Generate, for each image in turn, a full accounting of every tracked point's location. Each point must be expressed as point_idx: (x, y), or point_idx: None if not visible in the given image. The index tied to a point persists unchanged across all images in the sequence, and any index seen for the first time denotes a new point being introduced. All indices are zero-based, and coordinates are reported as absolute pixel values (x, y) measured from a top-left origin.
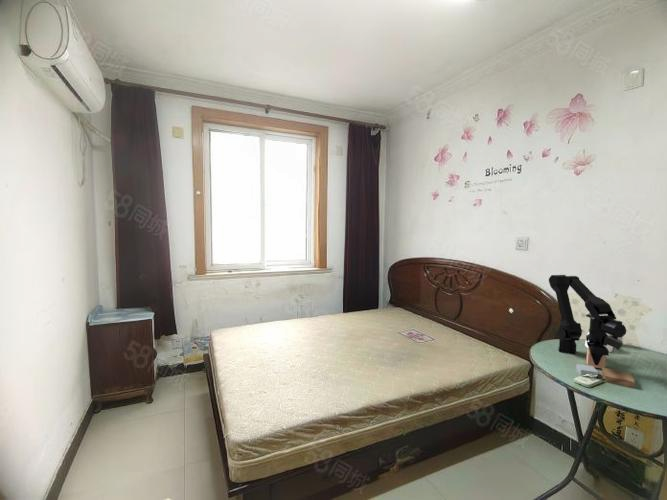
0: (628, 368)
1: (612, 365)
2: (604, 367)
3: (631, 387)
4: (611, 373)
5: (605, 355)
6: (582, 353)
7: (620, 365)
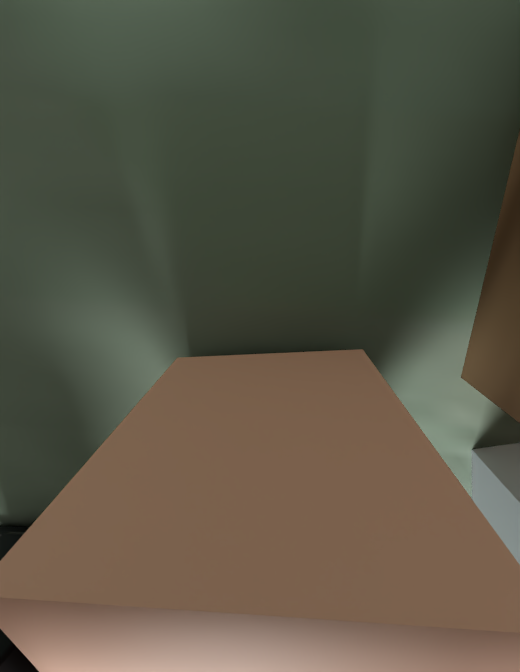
0: (33, 11)
1: (103, 250)
2: (371, 367)
3: None
4: None
5: (450, 627)
6: (3, 479)
7: (7, 143)
